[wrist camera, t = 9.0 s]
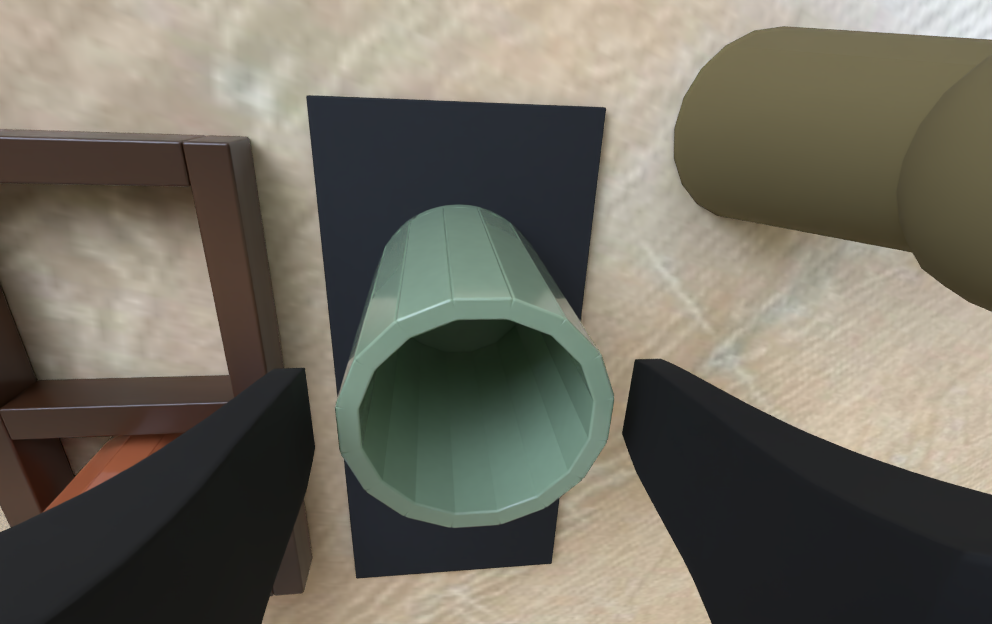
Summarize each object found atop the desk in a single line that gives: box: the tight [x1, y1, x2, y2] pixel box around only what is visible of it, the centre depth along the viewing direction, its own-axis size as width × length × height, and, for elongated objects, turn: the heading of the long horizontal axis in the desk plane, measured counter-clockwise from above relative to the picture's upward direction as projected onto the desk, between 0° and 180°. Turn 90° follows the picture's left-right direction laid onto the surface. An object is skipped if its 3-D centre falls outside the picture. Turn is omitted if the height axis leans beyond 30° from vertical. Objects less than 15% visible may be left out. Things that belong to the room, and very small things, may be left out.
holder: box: [0, 129, 313, 596], centre depth 17 cm, size 18×9×2 cm, turn 178°
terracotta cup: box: [42, 433, 183, 513], centre depth 17 cm, size 6×6×6 cm
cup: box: [335, 205, 614, 528], centre depth 14 cm, size 6×6×8 cm
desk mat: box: [306, 95, 606, 578], centre depth 19 cm, size 20×9×1 cm, turn 178°
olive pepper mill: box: [674, 26, 992, 311], centre depth 12 cm, size 6×6×11 cm
